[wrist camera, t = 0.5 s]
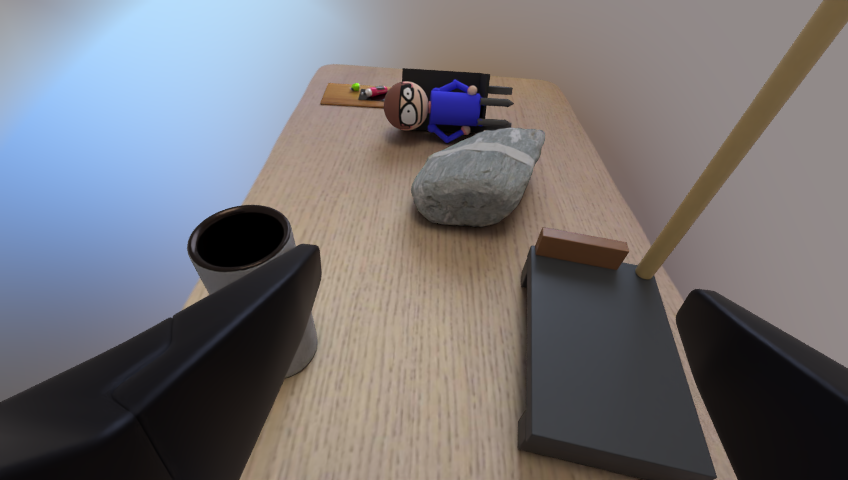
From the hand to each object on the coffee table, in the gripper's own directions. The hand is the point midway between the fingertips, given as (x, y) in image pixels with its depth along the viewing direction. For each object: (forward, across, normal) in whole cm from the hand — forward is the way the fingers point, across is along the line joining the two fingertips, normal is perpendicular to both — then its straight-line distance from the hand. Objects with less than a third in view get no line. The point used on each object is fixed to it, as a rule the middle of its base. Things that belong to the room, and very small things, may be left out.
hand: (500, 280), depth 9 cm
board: (+47, +12, +8) cm, 49 cm away
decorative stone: (+27, -2, +11) cm, 30 cm away
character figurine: (+39, +1, +9) cm, 40 cm away
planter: (+9, +11, +15) cm, 20 cm away
